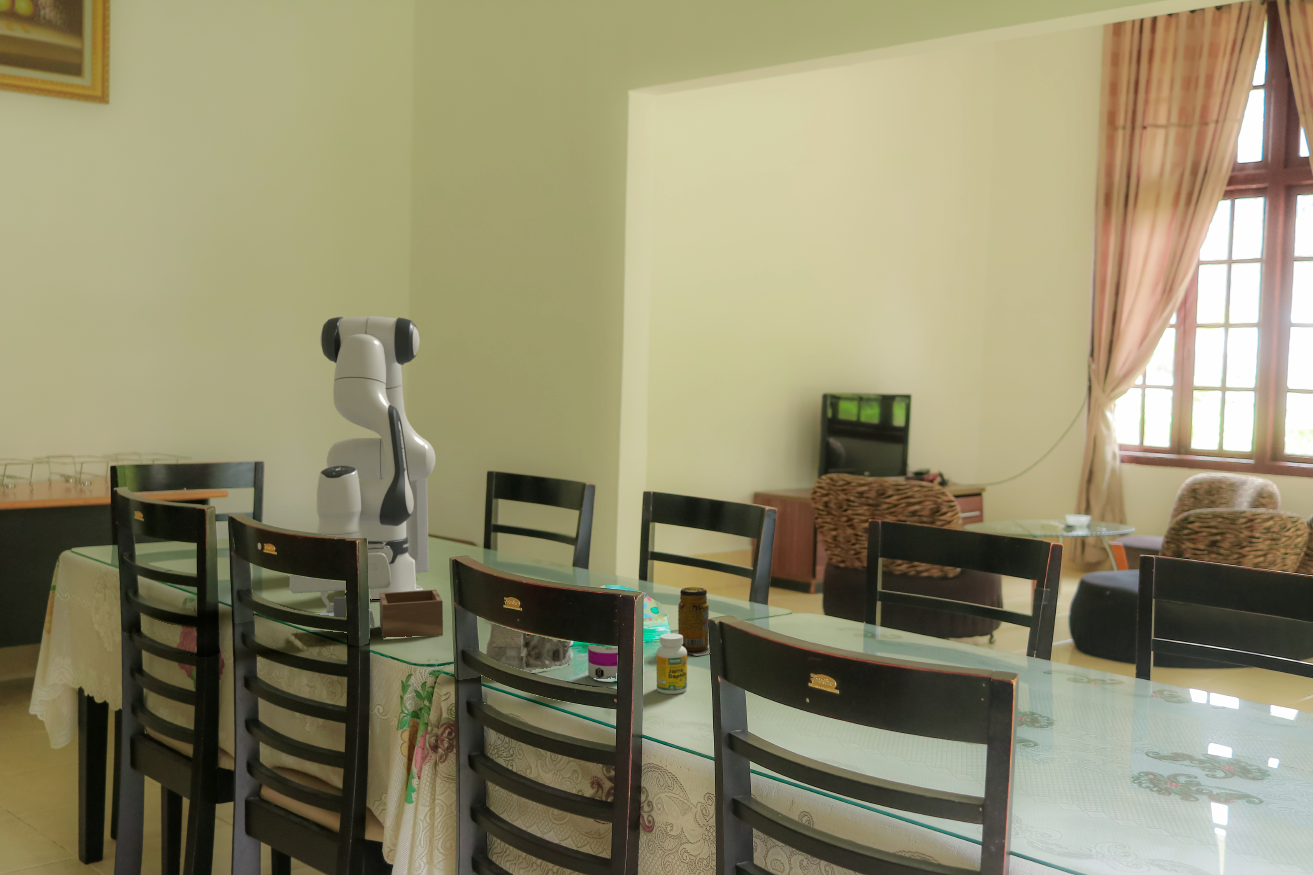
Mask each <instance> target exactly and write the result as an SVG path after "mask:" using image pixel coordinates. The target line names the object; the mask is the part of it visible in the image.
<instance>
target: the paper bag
mask: <svg viewBox="0 0 1313 875" xmlns="http://www.w3.org/2000/svg"><path fill="white" fill-rule="evenodd" d="M410 485H411V490H412V494H413V499H414V507H413V513H412V515H411V516H410V517H409V518H408V519H407V520H406V537H408V542H409V546H408V550H409V551H408V554H409V556H410V557H411V558H413V560H414V561H415V574H418V572H419V573H423V572H424V571H425V572H429V570H430V568H429V567H430V565H429V564H430V562H429V561H430V560H429V512H428V511H429V506H428V477H427V478H424V479H420V480H415V481H410Z"/></svg>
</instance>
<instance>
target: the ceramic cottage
mask: <svg viewBox="0 0 1313 875" xmlns="http://www.w3.org/2000/svg"><path fill="white" fill-rule="evenodd" d="M570 644H571V641H570V642H567V641H561V640H556V639H549V638H545V637H541V636H536V635H531V634H526V633H523V632H519V631H515V630H512V629H508V628H506V627H502V626H500V625H496V624H492V623H491V622H490V634H489V639H488V641H487V643H486V652H485V654H484V655H486V656H487V657H490V658H492V659H494V660H496V661H498V662H501V663H503V664H507V665H509V666H512V667H515V668H518V669H522V670H525V671H529V672H532V670H536V669H544V668H546V669H547V668H551V667H554V666H562V665H565V664H567V663H569V661H570V660H571V661H572V658H571V653H570V652H569V651H570V650H569V649H570V647H571V645H570Z"/></svg>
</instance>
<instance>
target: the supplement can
mask: <svg viewBox="0 0 1313 875" xmlns="http://www.w3.org/2000/svg"><path fill="white" fill-rule="evenodd" d="M617 655H618V650H617V648H612V647H602V646H596V645H588V644H587V671H588V672H587V673H588V674H587V675H588V676H590V678H592V677H593V678H596V679H608V678H610V679H611V677H612V678H615V679H616V673H617Z"/></svg>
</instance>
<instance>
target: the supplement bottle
mask: <svg viewBox="0 0 1313 875" xmlns="http://www.w3.org/2000/svg"><path fill="white" fill-rule="evenodd" d="M659 643H660V645H661V646H659V647H658V648H657V649H656V653H655V654H656V655H655V656H656V659H655V660H656V662H655V663H656V665H655V666H656V690H657V692H659V693H661V694H665V695H679V694H683V693H685V692H686V691H687V690H688V653H687V651H686V649H685V648H684V647H683V646H682V644H683V636H682V635H680V634H678V633H674V632H673V633H670V632H669V633H664V634H660V636H659Z"/></svg>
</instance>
